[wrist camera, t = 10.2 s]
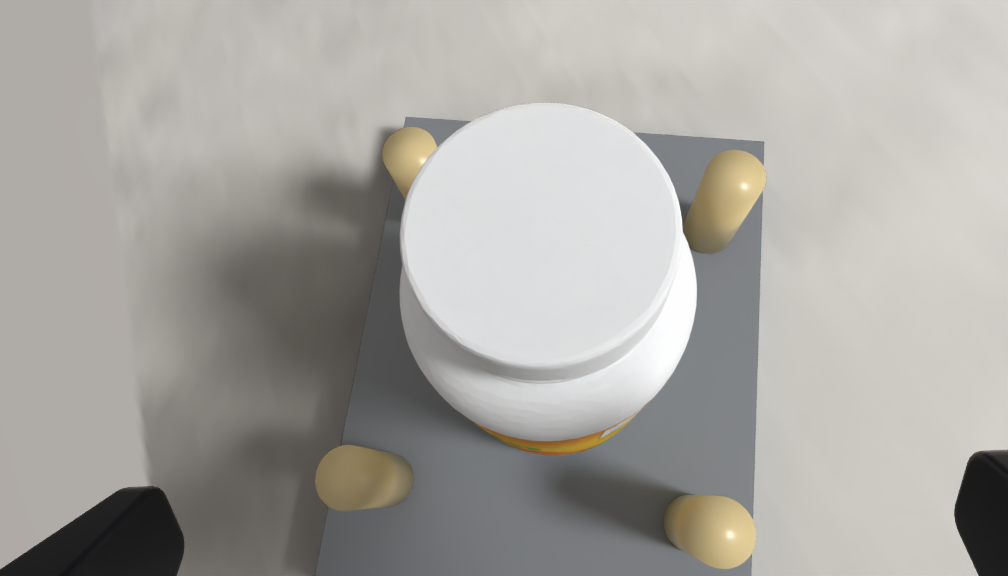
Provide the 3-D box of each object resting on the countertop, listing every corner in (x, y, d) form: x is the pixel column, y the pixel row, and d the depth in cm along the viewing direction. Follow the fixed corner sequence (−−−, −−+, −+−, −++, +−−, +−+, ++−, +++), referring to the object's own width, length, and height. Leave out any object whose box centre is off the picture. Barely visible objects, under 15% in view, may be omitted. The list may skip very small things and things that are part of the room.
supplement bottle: (418, 367, 19) (270, 247, 9) (543, 229, 20) (520, -4, 10) (564, 501, 17) (558, 517, 8) (692, 347, 18) (821, 200, 9)
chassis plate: (736, 652, 17) (795, 711, 12) (327, 583, 18) (249, 614, 14) (753, 160, 21) (803, 70, 16) (414, 136, 22) (374, 47, 18)
